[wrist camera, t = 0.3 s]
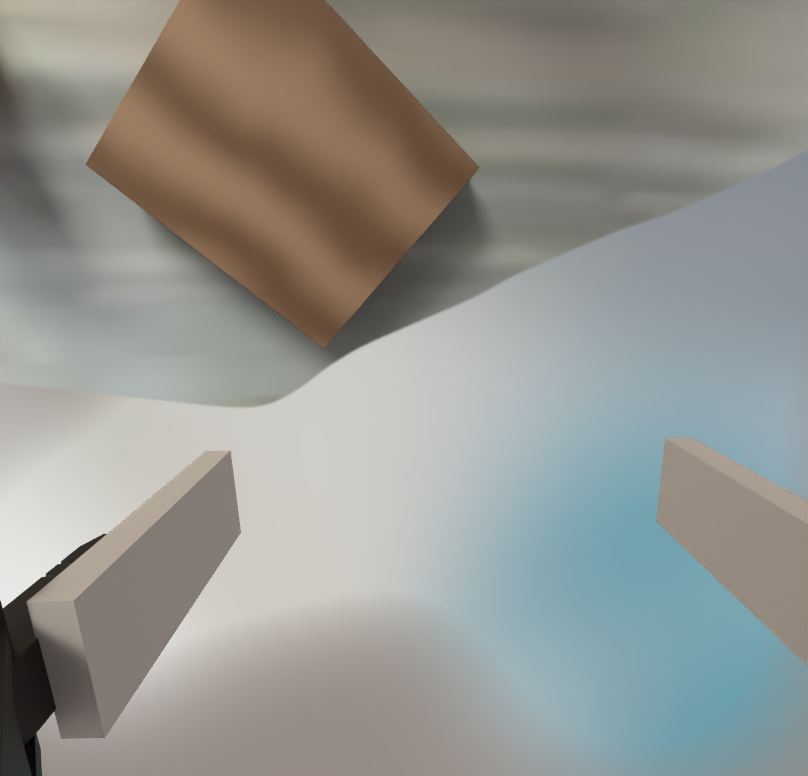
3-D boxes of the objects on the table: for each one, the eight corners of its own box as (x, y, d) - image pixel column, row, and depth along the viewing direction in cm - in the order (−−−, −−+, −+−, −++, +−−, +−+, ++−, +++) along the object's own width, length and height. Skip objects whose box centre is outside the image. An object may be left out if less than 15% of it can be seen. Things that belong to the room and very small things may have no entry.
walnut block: (258, -51, 27) (235, -97, 23) (464, 169, 33) (479, 167, 29) (126, 167, 32) (85, 164, 27) (329, 328, 38) (323, 348, 33)
